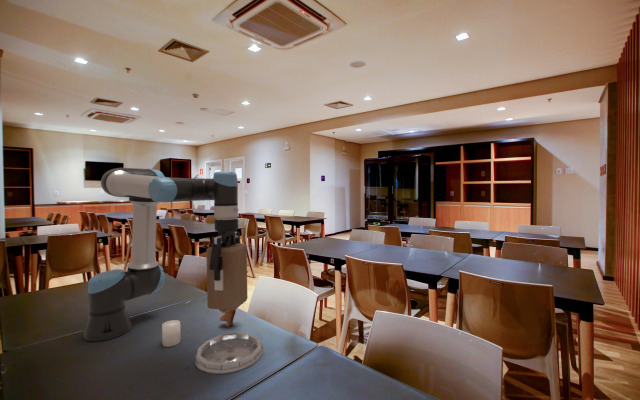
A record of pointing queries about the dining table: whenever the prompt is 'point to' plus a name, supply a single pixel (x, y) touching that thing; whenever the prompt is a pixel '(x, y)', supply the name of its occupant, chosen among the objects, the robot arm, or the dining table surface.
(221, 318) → the figurine
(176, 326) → the white domed cylinder
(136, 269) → the robot arm
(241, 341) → the metallic bowl
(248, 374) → the dining table surface
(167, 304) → the dining table surface
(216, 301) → the block
